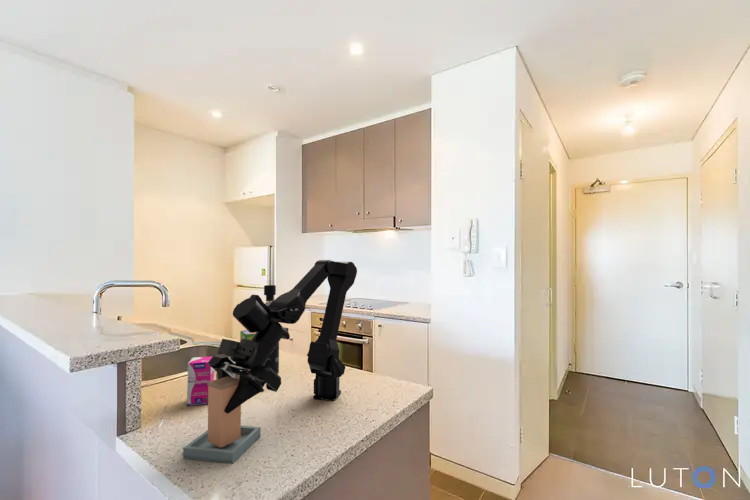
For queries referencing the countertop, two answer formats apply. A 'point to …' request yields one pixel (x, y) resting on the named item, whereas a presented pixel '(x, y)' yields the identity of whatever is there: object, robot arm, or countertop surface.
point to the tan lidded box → (219, 422)
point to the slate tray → (226, 454)
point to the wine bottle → (274, 363)
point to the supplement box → (199, 380)
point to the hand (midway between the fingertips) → (218, 409)
